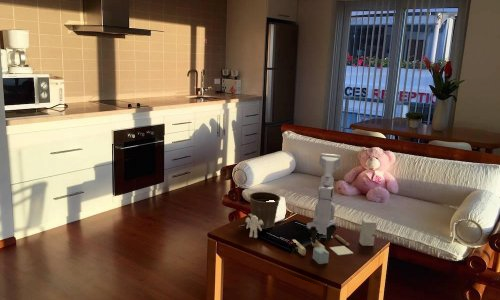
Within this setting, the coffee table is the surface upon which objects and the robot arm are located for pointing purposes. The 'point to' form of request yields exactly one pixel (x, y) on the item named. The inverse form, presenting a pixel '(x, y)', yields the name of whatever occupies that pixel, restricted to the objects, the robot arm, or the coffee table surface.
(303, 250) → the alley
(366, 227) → the skincare box
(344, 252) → the coaster
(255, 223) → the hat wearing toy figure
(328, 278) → the coffee table surface
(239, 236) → the coffee table surface
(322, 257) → the block
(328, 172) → the robot arm
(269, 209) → the plant pot
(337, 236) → the dowel
